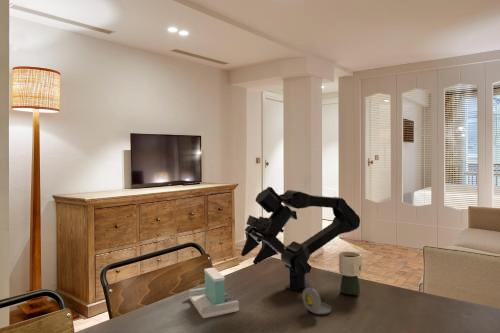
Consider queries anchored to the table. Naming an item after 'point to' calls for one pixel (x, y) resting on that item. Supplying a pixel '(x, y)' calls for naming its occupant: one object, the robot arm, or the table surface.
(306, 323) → the table surface
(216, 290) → the teal and cream panel
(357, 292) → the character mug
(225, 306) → the white slotted tray
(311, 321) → the table surface
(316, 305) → the pocket watch
